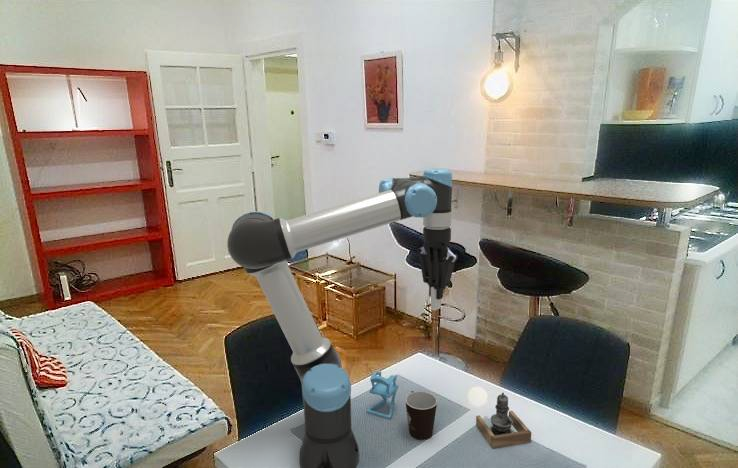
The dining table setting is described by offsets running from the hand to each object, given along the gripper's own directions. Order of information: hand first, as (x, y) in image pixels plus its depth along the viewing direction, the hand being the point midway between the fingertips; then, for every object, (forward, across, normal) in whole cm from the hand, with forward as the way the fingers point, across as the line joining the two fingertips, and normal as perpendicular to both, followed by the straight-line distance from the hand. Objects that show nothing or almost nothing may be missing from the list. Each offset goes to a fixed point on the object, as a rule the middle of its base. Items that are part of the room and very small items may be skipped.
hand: (435, 308), depth 127 cm
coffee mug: (+33, -3, +9) cm, 34 cm away
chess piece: (+33, -19, -6) cm, 38 cm away
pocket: (+32, -19, -6) cm, 38 cm away
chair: (+33, +11, +10) cm, 36 cm away
